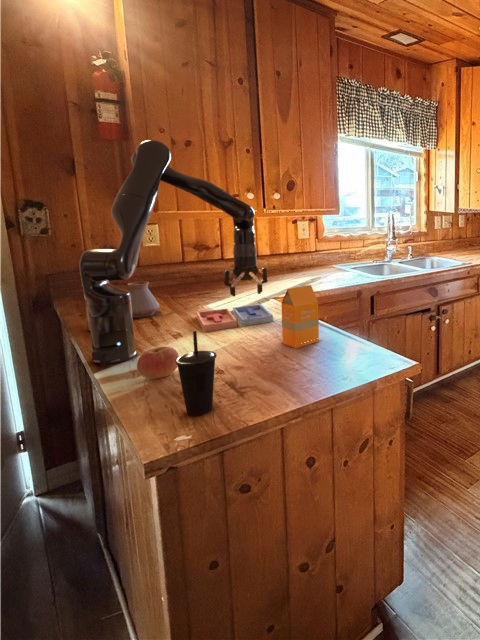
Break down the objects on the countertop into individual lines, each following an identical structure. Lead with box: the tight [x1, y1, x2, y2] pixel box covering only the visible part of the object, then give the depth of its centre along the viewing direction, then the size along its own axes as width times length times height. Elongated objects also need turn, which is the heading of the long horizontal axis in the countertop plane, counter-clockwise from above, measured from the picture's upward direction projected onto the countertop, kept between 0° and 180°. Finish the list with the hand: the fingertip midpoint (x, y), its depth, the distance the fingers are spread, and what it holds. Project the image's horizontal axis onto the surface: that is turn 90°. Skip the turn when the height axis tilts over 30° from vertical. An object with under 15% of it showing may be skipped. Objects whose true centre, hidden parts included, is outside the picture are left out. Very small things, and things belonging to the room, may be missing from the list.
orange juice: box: [280, 284, 320, 349], centre depth 141 cm, size 8×9×20 cm
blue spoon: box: [246, 308, 262, 319], centre depth 165 cm, size 14×5×2 cm, turn 44°
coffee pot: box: [80, 281, 160, 318], centre depth 157 cm, size 21×12×15 cm, turn 133°
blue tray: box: [232, 303, 274, 327], centre depth 166 cm, size 19×10×2 cm, turn 43°
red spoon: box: [206, 313, 222, 323], centre depth 158 cm, size 14×5×2 cm, turn 44°
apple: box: [136, 345, 180, 380], centre depth 113 cm, size 9×9×8 cm
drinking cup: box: [175, 330, 218, 417], centre depth 96 cm, size 8×8×20 cm
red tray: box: [196, 307, 238, 333], centre depth 157 cm, size 19×10×2 cm, turn 43°
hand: (246, 294), depth 161 cm, fingers open, 8 cm apart
